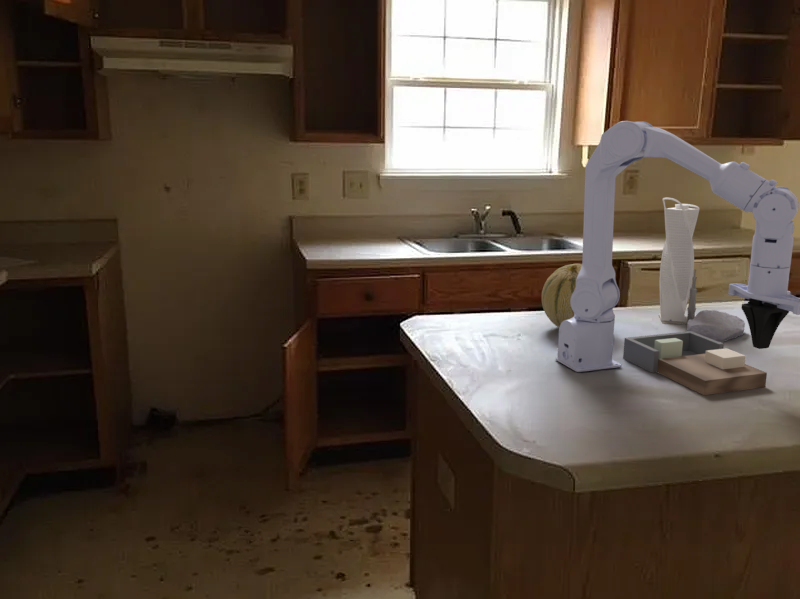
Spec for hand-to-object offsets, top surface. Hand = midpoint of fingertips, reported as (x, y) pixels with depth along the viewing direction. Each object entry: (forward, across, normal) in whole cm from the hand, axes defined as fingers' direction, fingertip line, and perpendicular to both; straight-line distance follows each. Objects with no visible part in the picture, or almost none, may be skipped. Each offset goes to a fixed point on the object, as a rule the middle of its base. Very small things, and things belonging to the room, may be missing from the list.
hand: (760, 347), depth 118 cm
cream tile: (+5, +8, 0) cm, 9 cm away
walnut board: (+8, +8, +3) cm, 11 cm away
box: (+8, +18, +3) cm, 19 cm away
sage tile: (+5, +15, +6) cm, 16 cm away
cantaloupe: (+8, +43, +9) cm, 44 cm away
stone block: (+8, +30, -18) cm, 37 cm away
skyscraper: (+8, +44, -18) cm, 48 cm away
